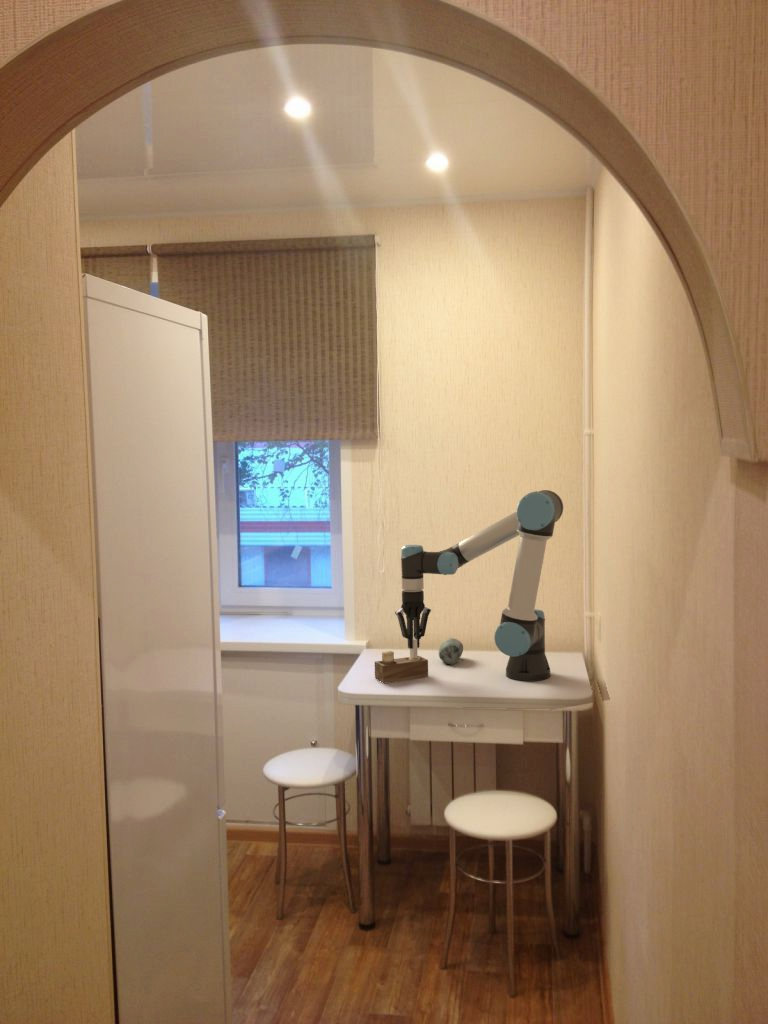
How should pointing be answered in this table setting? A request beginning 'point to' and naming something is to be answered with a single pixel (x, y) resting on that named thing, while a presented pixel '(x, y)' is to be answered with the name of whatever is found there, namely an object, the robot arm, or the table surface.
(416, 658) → the peg right
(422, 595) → the robot arm
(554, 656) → the table surface
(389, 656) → the peg left
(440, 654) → the grey green ridged egg
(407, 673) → the walnut block
